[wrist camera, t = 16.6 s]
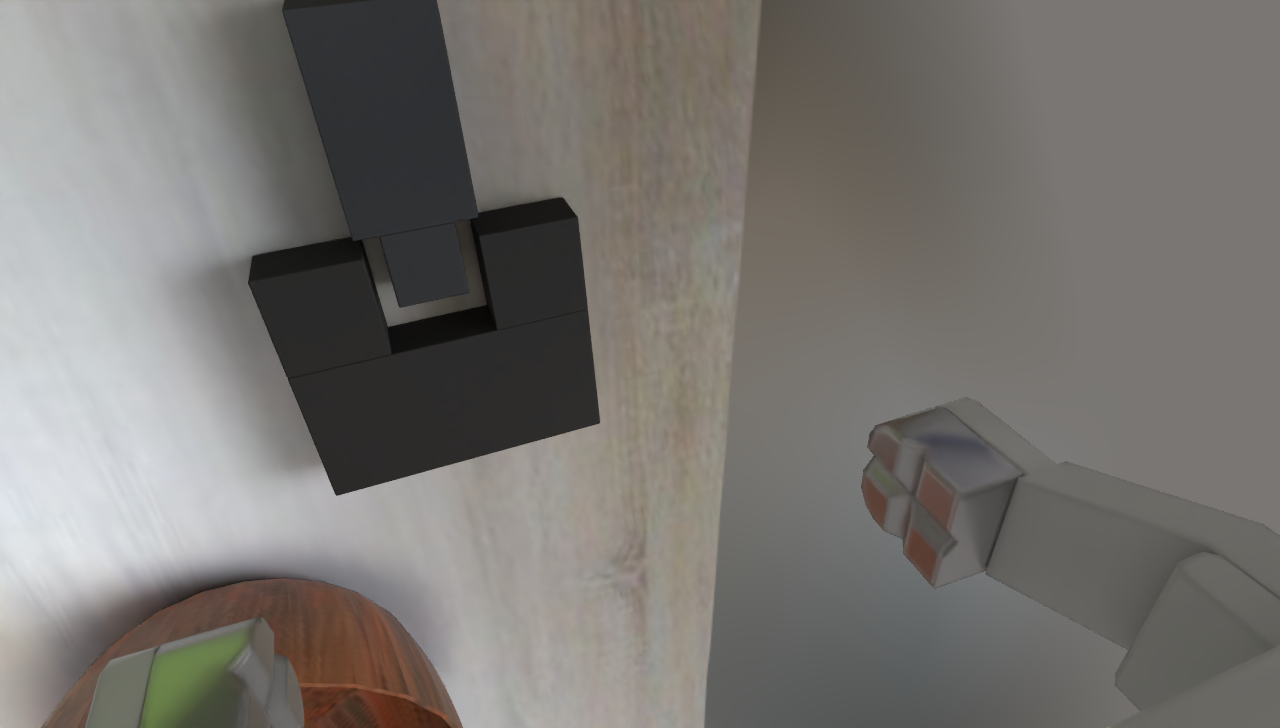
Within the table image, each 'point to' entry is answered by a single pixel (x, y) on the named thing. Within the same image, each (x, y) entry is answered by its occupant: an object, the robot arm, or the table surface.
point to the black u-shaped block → (435, 350)
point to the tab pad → (390, 132)
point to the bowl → (302, 654)
